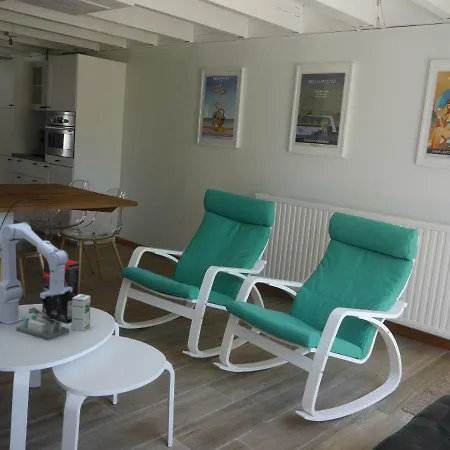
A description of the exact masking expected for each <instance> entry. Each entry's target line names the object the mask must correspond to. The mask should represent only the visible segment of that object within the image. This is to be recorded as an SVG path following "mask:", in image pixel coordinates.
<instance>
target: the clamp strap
mask: <svg viewBox="0 0 450 450" xmlns="http://www.w3.org/2000/svg"><path fill="white" fill-rule="evenodd" d="M27 313H28V314H29V315H32V314H33V315H37V318H39V317H40V318H41V319H43V320H44V321H46V322H48V323H49V324H52V325H54V326H55V325H58V322H56V320H55V319H54V318H51V317H48V316H46V315H47V314H45V313H44V312H42V311H40V310H39V309H38V308H36V307H31V308H30V307H29V308H28V312H27Z"/></svg>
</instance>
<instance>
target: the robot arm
mask: <svg viewBox="0 0 450 450" xmlns="http://www.w3.org/2000/svg"><path fill="white" fill-rule="evenodd" d="M22 239H25V240H26V241H28V242H29V243H30V244H31V245H32V246H35V247H36V251H37V253H39V254H40V255H42V256H43V257H44V258H47V261H48V264H49V268H50V290H47V291H45V292H43V291H42V292H40V294H39V295H40V300H41V301H42V305H43V304H44V306H45V310H46V313H47V314H51V306H52V302H53V299H51V297H50V296H54V295H59V294H60V297H61V309H62V310H66V307H67V304H68V301H69V299H70V298H71V296H72V293H70V292H72V287H64V275H65V264H66V263H67V261H68V260H69V254H68V253H67V251H66V250H63V249H58V248H57V247H56V246H54V245H53V244H52V243H51V242H50V240H42V239H41V237H39V236H38V235H37V234H36V233H35V232H34V231H33V230H32V227H31V226H30V225H29V224H28V223H27V222H20V223H14V224H13V223H12V224H5V225H4V226H3V227H2V228H1V250H2V251H1V253H2V255H1V256H2V257H1V258H2V281H1V282H0V322H1V323H3V324H5V325H11V324H14V323H17V322H20V321H24V318H21V317H19V305H20V304H19V301H20V300H21V298H22V297H23V295H24V289H23V287H22V282H21V281H20V280H18V279H17V276H18V275H17V250H16V249H17V248H16V247H17V246H16V245H17V243H19V241H21V240H22Z"/></svg>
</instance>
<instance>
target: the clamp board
mask: <svg viewBox="0 0 450 450" xmlns="http://www.w3.org/2000/svg"><path fill="white" fill-rule="evenodd" d="M55 321H56V320H55ZM56 322H58V325H55V326H54V325H52V324H49V323H48V322H46V321H44V320H43V319H41V318H40V317H38V316H37V315H35V314H31V320H30V319H29V317H23V324H21V325H18V326H16V327H15V328H16V329H15V330H16V331H17V332H20V333H24V334H26V335H31V336H32V337H36V338H39V339H43V340H46V341H50V340H53V339H56V338H58V337H60V336H64V335H65V334H68V333H70V328H68V327H64V326H62V323H63V321H60V320H57V321H56Z"/></svg>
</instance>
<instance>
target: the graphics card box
mask: <svg viewBox="0 0 450 450" xmlns="http://www.w3.org/2000/svg"><path fill="white" fill-rule="evenodd" d="M79 271H80V262H79V261H76V260H75V261H74V260H72V259H68V261H67V263H66V264H65V275H64V287H72V292H70V293H72V296H71V298H70V299H69V301H68V304H67V307H66V310H62V309H61V297H60V294H59V295H54V296H50V297H51V299H53V302H52V306H51V314H47V313H46V310H45V306H44V304H43V303H42V306H41V308H42V311H41V312H44V313H45V314H47V315H46V316H48V317H50V318H51V319H53V320H57V321H60V322H62V323H70V322H71V323H72V300H73V297H75V296H77V295H79V276H80V272H79ZM42 278H43V280H42V293H43V292H45V291H47V290H50V268H49V264H48V261H47V258H45V257H44V258H43V277H42Z"/></svg>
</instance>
